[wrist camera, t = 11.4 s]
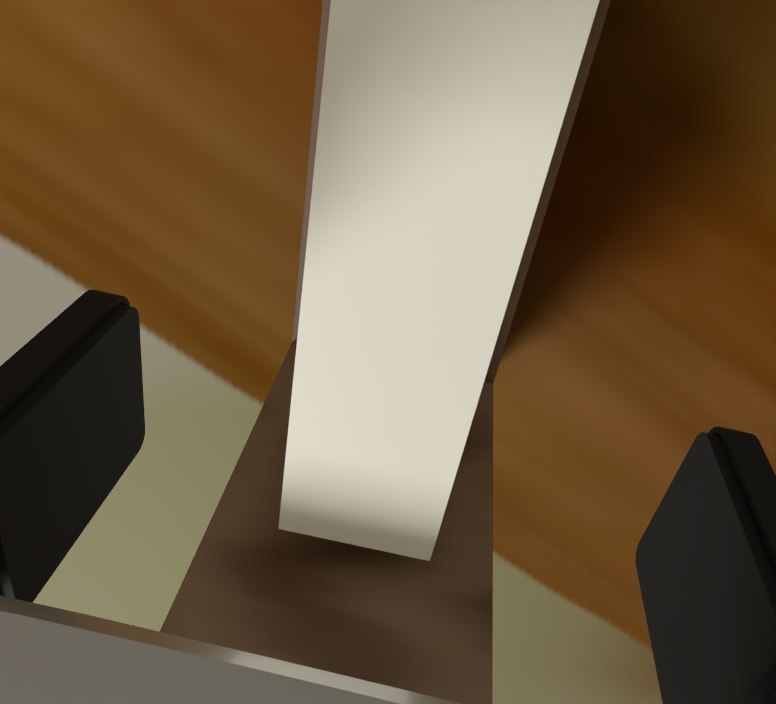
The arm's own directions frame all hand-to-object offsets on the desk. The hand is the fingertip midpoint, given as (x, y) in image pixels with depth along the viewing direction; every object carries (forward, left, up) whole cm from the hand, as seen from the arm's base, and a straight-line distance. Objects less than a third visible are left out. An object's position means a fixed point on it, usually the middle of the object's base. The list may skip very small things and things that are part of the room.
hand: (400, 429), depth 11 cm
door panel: (0, 0, -15) cm, 15 cm away
